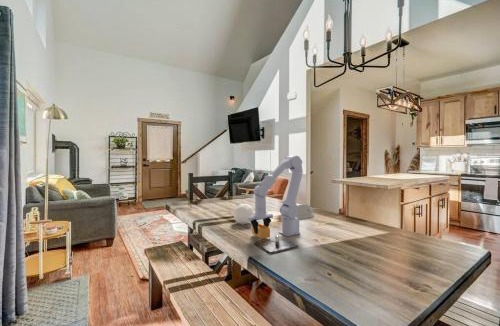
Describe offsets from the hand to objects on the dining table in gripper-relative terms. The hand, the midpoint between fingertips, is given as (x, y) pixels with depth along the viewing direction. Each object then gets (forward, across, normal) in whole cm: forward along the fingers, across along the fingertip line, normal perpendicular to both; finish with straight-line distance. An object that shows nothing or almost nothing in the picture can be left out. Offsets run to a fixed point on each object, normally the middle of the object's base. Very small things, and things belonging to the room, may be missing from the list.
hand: (260, 232), depth 137 cm
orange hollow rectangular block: (+1, 0, 0) cm, 1 cm away
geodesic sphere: (+3, -4, -29) cm, 29 cm away
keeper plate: (+2, 0, +14) cm, 15 cm away
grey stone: (+3, -47, -23) cm, 52 cm away
